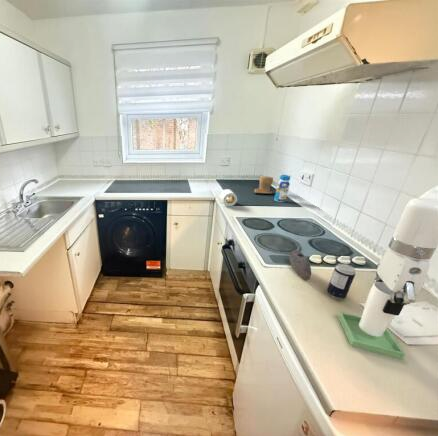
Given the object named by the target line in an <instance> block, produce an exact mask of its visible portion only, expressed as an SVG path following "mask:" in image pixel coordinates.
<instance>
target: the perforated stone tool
mask: <svg viewBox="0 0 438 436" xmlns="http://www.w3.org/2000/svg"><path fill="white" fill-rule="evenodd" d="M288 261H289V264H290V265H291V268H292V269H293V270H294V271H295V273H297V275H298V276H299V277H300V278H302V279H303V280H305V281H308V280H310V278H311V277H312V267H311V265H310V263H309V260H308V259H307V257H306V256H305V254H304V253H302V251H300V250H297V249H294V250H291V251H290V253H289V256H288Z"/></svg>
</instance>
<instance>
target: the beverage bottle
mask: <svg viewBox="0 0 438 436" xmlns="http://www.w3.org/2000/svg"><path fill="white" fill-rule="evenodd" d="M290 179H291V175H289V174H281V175H280V176H279V181H278V182H277V185H276V189H275V194H274V198H273V200H274V201H275V202H277V203H286V201H287V196H288V193H289V189H290V187H289V186H290V185H291V184H290Z"/></svg>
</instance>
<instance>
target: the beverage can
mask: <svg viewBox="0 0 438 436" xmlns="http://www.w3.org/2000/svg"><path fill="white" fill-rule="evenodd" d="M333 269H334V270H333V272H332V275H331V277H330V280H329V283H328V286H327V289H326V291H327V293H328V294H329V296H330V297H332V298H334V299H338V300H342V299H345V298H347V296H348V293H349V291H350V289H351V287H352V284H353V281H354V278H355V276H356V268H355V267H353V266H352V265H350V264H345V263H338V264H337V265H336V266H335V267H334V268H333Z"/></svg>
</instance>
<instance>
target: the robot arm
mask: <svg viewBox="0 0 438 436" xmlns="http://www.w3.org/2000/svg"><path fill="white" fill-rule="evenodd" d="M437 248H438V185H436V186H434V187H432V188H431V189H429V190H427V191H426V192H424V193H423V194H421V195H420V196H419V197H414V198H411V199H410V200H409V201H408V202H407V204H406V205H405V208H404V209H403V212H402V214H401V216H400V218H399V221H398V223H397V226H396V228H395V230H394V232H393V234H392V236H391V239H390V241H389V243H388V245H387V249H386V250H385V252H384V254H383V256H382V257H381V260H380V261H379V263H377V265H376V272H375V274H376V277H375V278H374V282H373V284H374V283H375V282H384V283H385V284H386V285H387V287H388V288H389V289H390V290H391V297H390V300H387V302H386V304H385V306H384V308H383V310H382V311H383V312H384V313H387V314H392V315H396V316H397V317H398V316H400V314H401V312H402V310H403V309H404V306H407V305H410V304H414V303H416V297H418V295H419V294H420V292H421V289H422V288H423V285H424V283H425V281H426V279H427V276H428V273H429V269H430V265H431V262H430V260H431V259H432V257H433V255H434V253H435V251H436V250H437ZM400 289H402V290H403V292H402V291H398V290H400ZM397 293H398V294H402V298H396V295H397ZM396 316H395V317H396Z"/></svg>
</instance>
